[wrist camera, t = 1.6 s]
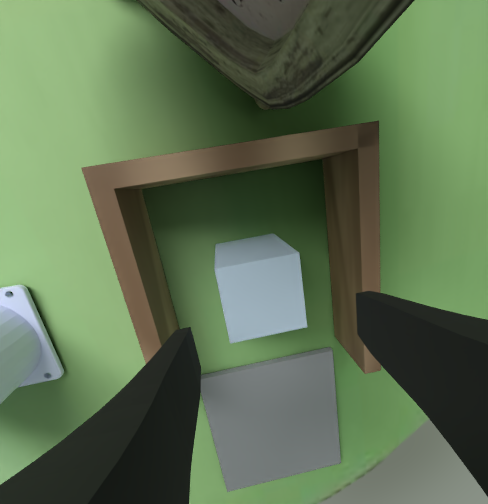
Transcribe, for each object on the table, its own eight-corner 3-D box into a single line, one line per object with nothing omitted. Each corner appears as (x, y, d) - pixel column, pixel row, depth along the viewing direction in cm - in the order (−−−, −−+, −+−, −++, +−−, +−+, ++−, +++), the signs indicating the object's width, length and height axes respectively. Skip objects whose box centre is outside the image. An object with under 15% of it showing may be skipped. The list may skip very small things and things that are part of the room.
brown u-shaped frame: (175, 370, 20) (164, 419, 16) (118, 174, 16) (81, 167, 12) (347, 333, 21) (381, 370, 17) (337, 138, 17) (378, 120, 12)
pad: (227, 485, 24) (227, 491, 24) (198, 375, 21) (197, 380, 20) (338, 457, 25) (340, 463, 25) (329, 346, 21) (332, 350, 21)
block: (226, 297, 19) (230, 343, 13) (215, 243, 18) (214, 269, 12) (280, 286, 19) (307, 327, 14) (273, 233, 18) (299, 252, 12)
